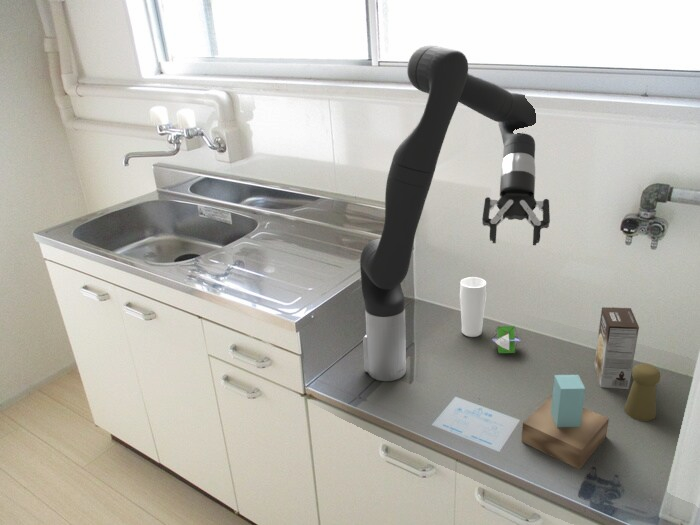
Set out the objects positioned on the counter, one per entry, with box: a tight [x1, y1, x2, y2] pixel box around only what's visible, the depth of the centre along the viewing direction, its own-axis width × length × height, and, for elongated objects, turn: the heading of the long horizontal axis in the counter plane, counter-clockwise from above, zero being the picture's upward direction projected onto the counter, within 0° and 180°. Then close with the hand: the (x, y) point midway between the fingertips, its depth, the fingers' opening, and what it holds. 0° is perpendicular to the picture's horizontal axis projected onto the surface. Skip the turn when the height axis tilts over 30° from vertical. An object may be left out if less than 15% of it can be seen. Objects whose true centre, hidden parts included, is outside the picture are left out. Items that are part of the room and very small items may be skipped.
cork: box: [623, 363, 661, 422], centre depth 123 cm, size 6×6×11 cm
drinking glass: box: [459, 276, 488, 338], centre depth 156 cm, size 7×7×15 cm
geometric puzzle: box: [490, 325, 522, 354], centre depth 148 cm, size 7×7×8 cm
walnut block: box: [521, 394, 610, 470], centre depth 118 cm, size 12×12×5 cm
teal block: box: [551, 374, 586, 427], centre depth 115 cm, size 4×4×9 cm
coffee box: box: [594, 306, 640, 390], centre depth 134 cm, size 9×6×16 cm
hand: (514, 243), depth 129 cm, fingers open, 8 cm apart
